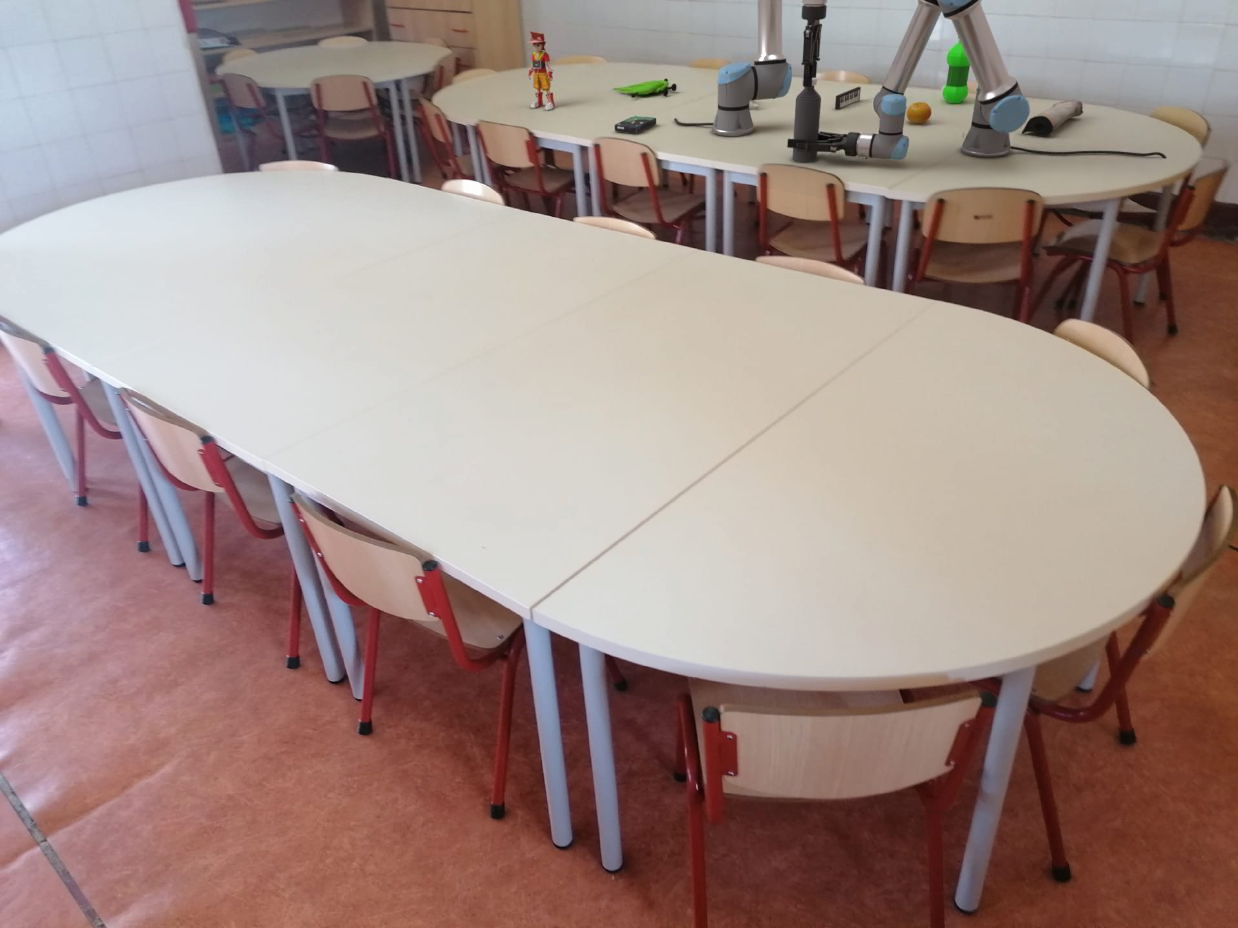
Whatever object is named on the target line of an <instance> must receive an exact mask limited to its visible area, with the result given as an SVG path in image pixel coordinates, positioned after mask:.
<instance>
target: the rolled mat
mask: <svg viewBox="0 0 1238 928" xmlns="http://www.w3.org/2000/svg"><path fill="white" fill-rule="evenodd" d="M1083 114H1084V110H1083V102H1082V101H1081V100H1075V99H1074V100H1066V101H1065V100H1064V101H1059V102H1055V103H1053V105H1052V107H1050V108H1047V109H1046V110H1044V111H1041V112H1040V113H1037V114H1036V115H1034V116H1032V117H1031V118H1029V119H1028V121H1026V124H1025V126H1024V128H1023V130H1022V131H1021V135H1024V134H1026V133H1033V134H1034V135H1035V136H1038V137H1043V138H1044V137H1045V138H1046V137H1049V136H1050V135H1052V134H1053V133H1054V132H1055V131H1056V130H1057V129H1058V128H1059V127H1060V126H1061V125H1063V124H1064V123H1065V122H1066V121H1067V120H1069V119H1070V118H1075V117H1080V116H1082V115H1083Z"/></svg>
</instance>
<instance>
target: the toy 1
mask: <svg viewBox="0 0 1238 928" xmlns="http://www.w3.org/2000/svg"><path fill="white" fill-rule="evenodd" d="M529 33H530V35H531V36H528V37H527V38H528V39H529V40H528V41H527V43H529V44H530V43H531V44H532V48H533V50H534V51H533V52H532V55H531V58H530V59H531V63H530V66H528V74H527V75H528V76H527V77H528V79H529V80H531V75H532V74H533V84H532V85H533V86H532V87H533V88H534V89H535V90H536V92H534V95H535V97H536V100H535V101H533V102H531V105H530V108H531V109H535V108H538V107H542V106H544V101H543V100H544V99H543V95H544V92H546V94H545V97H546V99H547V103H546V104H545V106H544V110H546V111H549V110H553V109H554V107H555V106H556V105H555V99H554V92H551V91H550V90H551V86H552V84H551V82H552V81H553V80H554V77H553V73H554V71H555V70H554V69H552V68H551V63H550V61H551V59H550V58H551V57H550V54H549V53H548V52H547V50H546V48H545V46H546V44H547V41H545V35H544V33H543V32H542V33H539V32H535V31H529Z"/></svg>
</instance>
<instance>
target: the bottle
mask: <svg viewBox="0 0 1238 928" xmlns="http://www.w3.org/2000/svg"><path fill="white" fill-rule="evenodd" d="M821 105H822V96H821V95H820V94H819V92H818V91H817V90H816V88H815V85H814V86H812V87H803V89H802V91H800V93H798V95H796V98H795V105H794V107H795V109H794V122H793V123H794V124H793V125H794V126H793V139H800V140H806V139H808V141H818V135H819V132H820V119H821V107H822V106H821ZM817 159H818V152H807V151H806V149H800V148H792V161H793V162H796V163H812V162H816V161H817Z"/></svg>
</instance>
